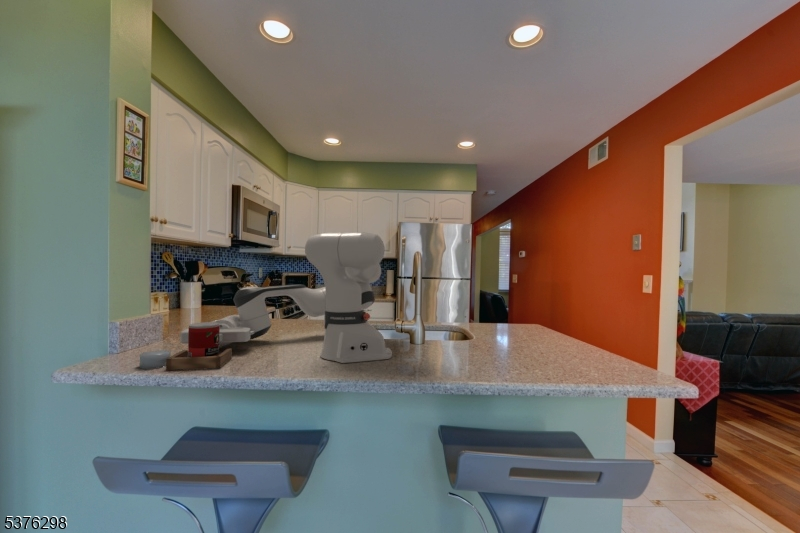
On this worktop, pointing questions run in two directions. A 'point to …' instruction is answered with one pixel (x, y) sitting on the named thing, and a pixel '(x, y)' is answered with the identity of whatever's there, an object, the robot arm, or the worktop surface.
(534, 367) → the worktop surface
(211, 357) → the bay
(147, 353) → the grey rounded cylinder
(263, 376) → the worktop surface
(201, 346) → the canned food
